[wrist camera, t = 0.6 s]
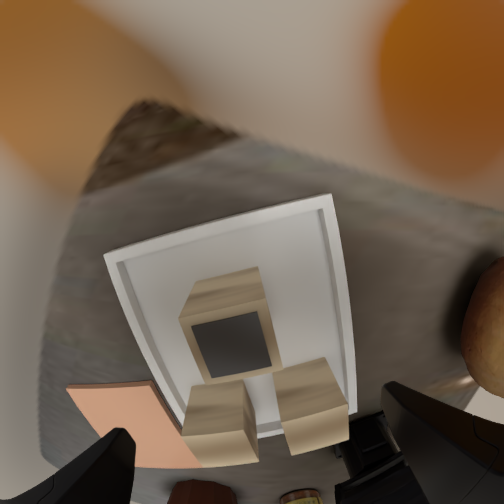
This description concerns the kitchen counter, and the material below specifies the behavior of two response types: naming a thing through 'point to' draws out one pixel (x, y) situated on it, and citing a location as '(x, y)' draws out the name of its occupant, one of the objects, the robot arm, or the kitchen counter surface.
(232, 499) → the muffin
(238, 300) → the labelled box
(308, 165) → the kitchen counter surface
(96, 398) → the terracotta tile
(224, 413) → the plain box
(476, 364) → the butternut squash
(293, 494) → the sauce bottle
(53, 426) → the kitchen counter surface
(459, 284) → the kitchen counter surface
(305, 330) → the white shallow tray
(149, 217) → the kitchen counter surface
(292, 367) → the plain box
